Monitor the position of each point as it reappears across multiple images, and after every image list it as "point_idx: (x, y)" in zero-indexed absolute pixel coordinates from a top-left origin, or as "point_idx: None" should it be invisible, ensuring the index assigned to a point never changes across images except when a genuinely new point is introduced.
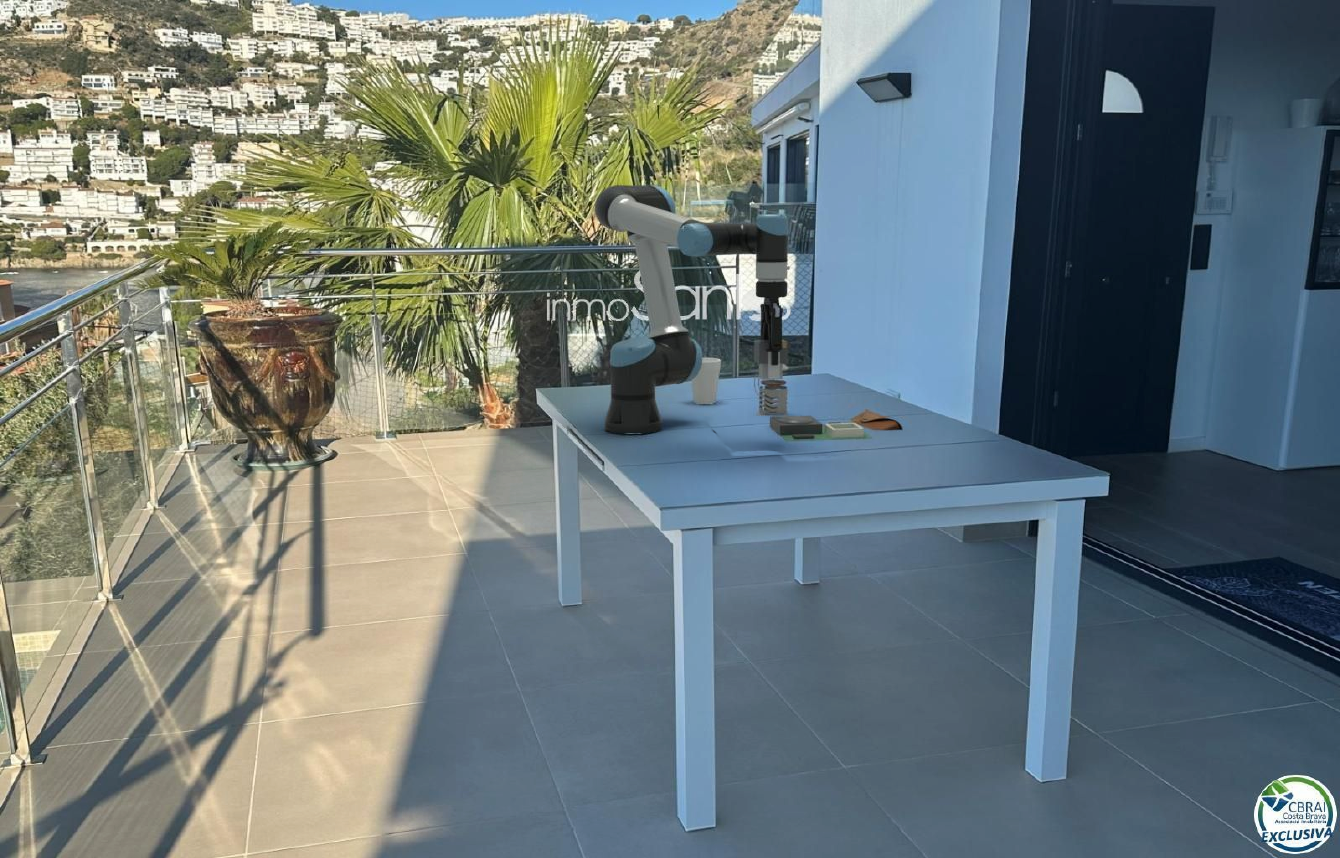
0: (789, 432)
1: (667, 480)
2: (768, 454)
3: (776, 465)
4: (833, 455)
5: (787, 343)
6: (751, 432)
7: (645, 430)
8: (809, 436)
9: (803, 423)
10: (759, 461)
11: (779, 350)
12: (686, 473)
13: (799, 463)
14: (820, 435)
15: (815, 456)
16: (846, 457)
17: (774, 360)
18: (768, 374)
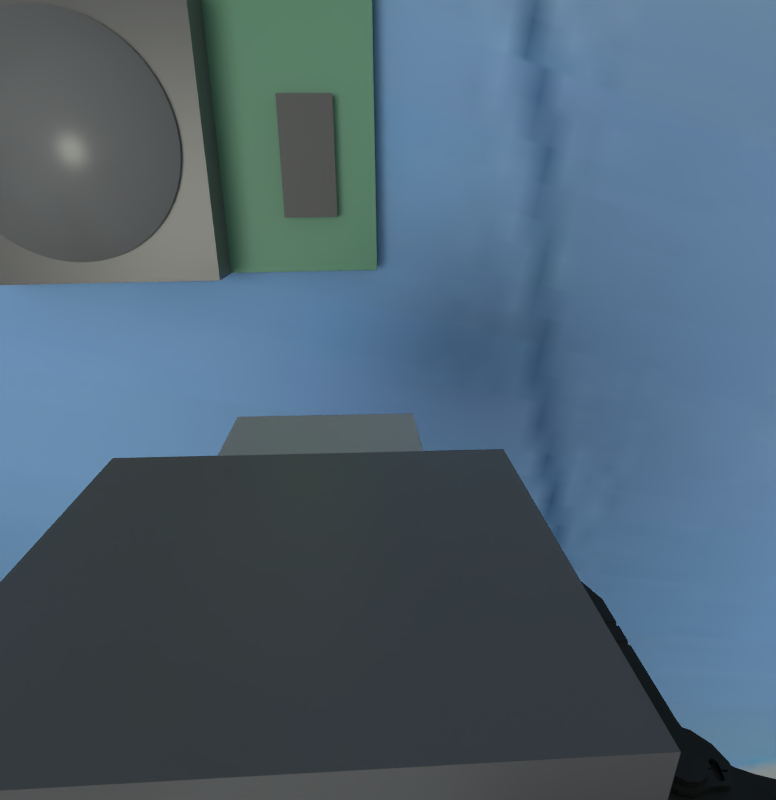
0: (223, 218)
1: (752, 709)
2: (516, 379)
3: (699, 384)
4: (610, 74)
5: (655, 730)
6: (55, 371)
7: None
8: (333, 126)
9: (173, 118)
10: (619, 434)
11: (712, 757)
12: (696, 663)
13: (701, 285)
14: (250, 28)
15: (604, 177)
16: (669, 13)
17: None
18: None
